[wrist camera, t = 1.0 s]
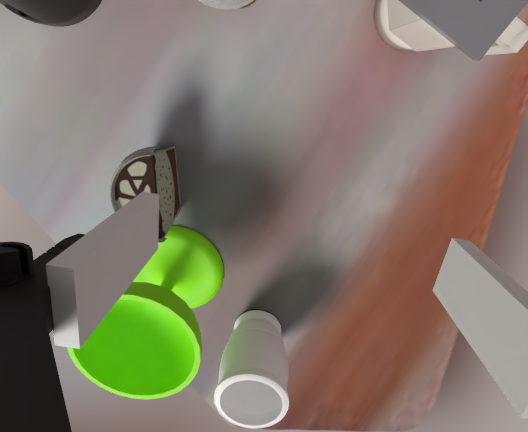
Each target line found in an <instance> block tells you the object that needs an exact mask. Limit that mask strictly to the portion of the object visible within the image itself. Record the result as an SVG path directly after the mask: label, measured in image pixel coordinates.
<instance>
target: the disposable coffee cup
mask: <svg viewBox="0 0 528 432" xmlns="http://www.w3.org/2000/svg"><path fill="white" fill-rule="evenodd" d="M199 1H200V2H202V3H203V4H205V5H207V6H209V7H212V8H216V9H220V10H232V9H237V8H245V7H247V6H250V5H251V4H253V3H254V2H255V1H256V0H199Z"/></svg>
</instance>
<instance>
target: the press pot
mask: <svg viewBox="0 0 528 432" xmlns="http://www.w3.org/2000/svg"><path fill="white" fill-rule="evenodd" d="M527 2H528V0H376V1H375V6H374V24H375V27H376V30H377V33H378V35H379V36H380V38H381V39H382V40H383V42H385V43H386V44H387V45H388V46H390V47H391V48H393V49H396V50H400V51H413V50H415V51H416V52H417V51H424V50H432V49H439V48H447V47H453V46H456V47H457V48H459V49H460V50H461V51H462V52H464V53H465V54H466V55H467V56H469V57H470V58H471V59H472V60H474V61H480V60H481V59H482V57H483V56H484V55H492V54H506V53H517V52H518V51H519V50H520V49H521V47H522V46H523V45H524V44H525V43H526V42H527V40H528V26H527V25H525V24H524V23H523V22H522V21H521V20H520V19H519V18H517V17H516V16H517V15H518V13H519V12H520V11H521V10H522V9H523V7H524V6H525V5H526V4H527Z"/></svg>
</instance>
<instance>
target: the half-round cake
mask: <svg viewBox="0 0 528 432" xmlns="http://www.w3.org/2000/svg"><path fill="white" fill-rule="evenodd" d="M155 149H156V147H148V148H144V149H140V150H138V151H135V152H133V153H132V154H130V155H129V156H127V157H126V158H125V159H124V160H123V161H122V163H121V164H120V165H119V167H118V168H117V170H116V171H115V173H114V176H113V178H112V182H111V189H110V196H111V202H112V206H113V209H114V211H115V212H116V211H118V210H119V209H120V208H122V207H123V206H124V205H126V204H127V203H128V202H130V201H131V200H132V199H134V198H135V197H136V196H137V195H139V194H140V193H141V192H148V193H155V194H159V234H158V243H162V242H164V241H165V240H167V238H165V236H166V235H167V233H168V231H169V229H170V227H171V225H172V224H173V222H174V220H175V218H176V216H177V215H178V213H179V211H180V209H181V207H182V206H181V196H180V186H179V175H178V165H177V155H176V146H168V147H164V148H161V149H158V150H155ZM154 150H155V151H154Z"/></svg>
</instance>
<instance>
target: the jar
mask: <svg viewBox="0 0 528 432" xmlns="http://www.w3.org/2000/svg"><path fill="white" fill-rule="evenodd" d="M287 383H288V361H287V356H286V352H285V347H284V342H283V339H282V337H281V325H280V323H279V321H278V320H277V319H276V318H275V317H274V316H273V315H272V314H270V313H268V312H265V311H261V310H252V311H248V312H245V313H243V314H242V315H240V316H239V317H238V318H237V320H236V322H235V325H234V331H233V332H232V334H231V336H230V338H229V340H228V343H227V345H226V347H225V350H224V352H223V355H222V359H221V363H220V370H219V383H218V385H217V387H216V389H215V393H214V404H215V407H216V409H217V411H218V412H219V414H220V415H221V416H222V417H223V418H224V419H226V420H227V421H229V422H230V423H232V424H235V425H237V426H240V427H244V428H254V429H255V428H264V427H268V426H271V425H273V424H275V423H277V422H279V421H280V420H281V419H282V418H283V417H284V416H285V414H286V412H287V410H288V404H289V398H288V394H287V391H286V389H287Z"/></svg>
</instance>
